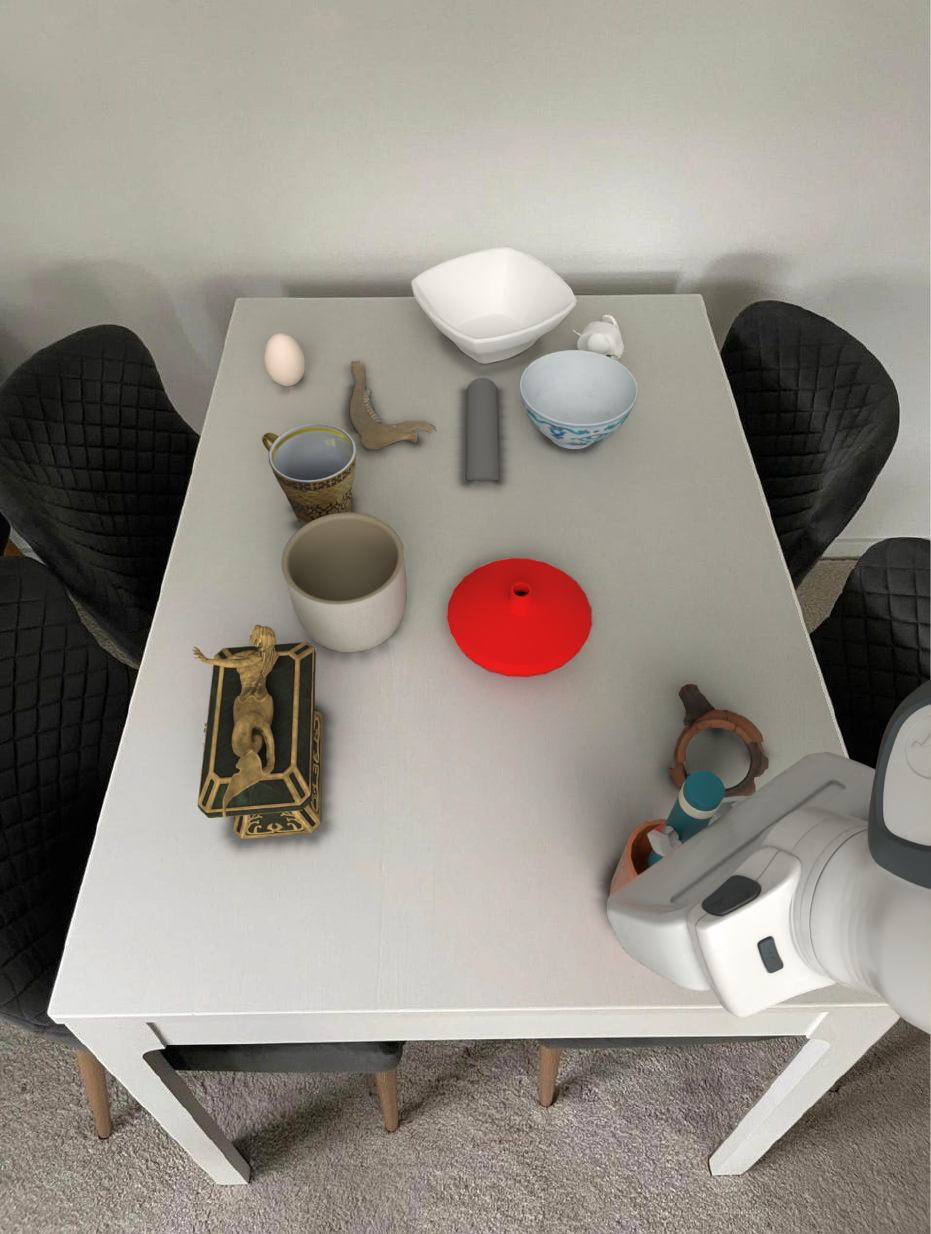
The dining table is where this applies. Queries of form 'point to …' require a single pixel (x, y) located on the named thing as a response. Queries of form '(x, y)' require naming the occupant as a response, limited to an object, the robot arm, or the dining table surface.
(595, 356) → the chinaware
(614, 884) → the tumbler
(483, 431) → the half round rod
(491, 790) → the dining table surface
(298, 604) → the planter
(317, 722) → the decorative box
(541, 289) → the bowl
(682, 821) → the teal banded tube
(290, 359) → the egg
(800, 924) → the robot arm
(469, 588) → the red disc with nozzle
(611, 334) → the elephant figurine
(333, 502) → the ceramic cup
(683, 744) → the broken brown pottery vessel
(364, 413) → the jawbone
